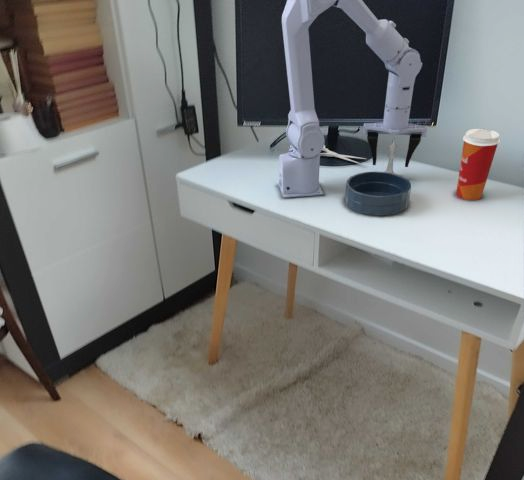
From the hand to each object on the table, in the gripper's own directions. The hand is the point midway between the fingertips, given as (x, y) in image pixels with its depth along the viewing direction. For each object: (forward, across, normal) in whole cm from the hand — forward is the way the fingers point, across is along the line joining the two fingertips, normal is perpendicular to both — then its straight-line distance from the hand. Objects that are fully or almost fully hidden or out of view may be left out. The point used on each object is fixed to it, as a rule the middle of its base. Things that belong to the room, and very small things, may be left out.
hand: (390, 164), depth 133 cm
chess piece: (+4, 0, 0) cm, 4 cm away
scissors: (+3, -15, +13) cm, 20 cm away
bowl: (+3, -2, -15) cm, 15 cm away
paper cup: (+4, +18, -7) cm, 20 cm away
